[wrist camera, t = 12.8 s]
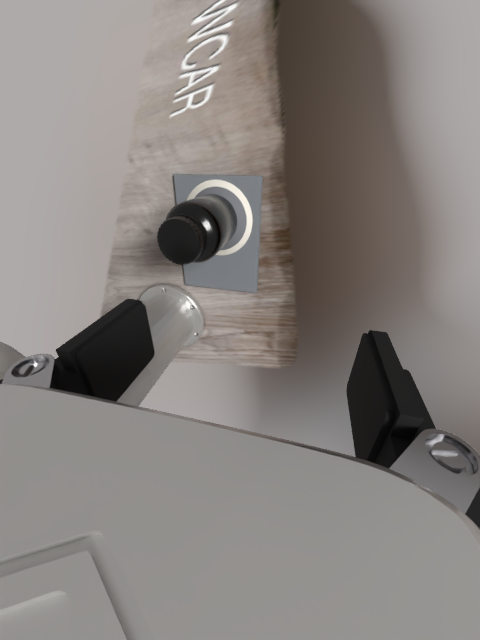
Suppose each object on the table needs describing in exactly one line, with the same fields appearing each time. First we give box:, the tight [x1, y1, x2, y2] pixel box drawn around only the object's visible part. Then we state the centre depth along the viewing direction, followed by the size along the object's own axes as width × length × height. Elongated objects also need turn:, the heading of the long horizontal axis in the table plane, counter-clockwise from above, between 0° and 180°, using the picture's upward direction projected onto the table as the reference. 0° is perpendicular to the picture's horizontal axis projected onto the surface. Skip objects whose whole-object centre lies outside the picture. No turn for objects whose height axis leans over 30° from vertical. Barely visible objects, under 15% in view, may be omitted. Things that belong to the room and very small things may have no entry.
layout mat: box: [174, 174, 263, 293], centre depth 38 cm, size 16×12×1 cm
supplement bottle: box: [157, 194, 237, 265], centre depth 31 cm, size 7×7×12 cm
